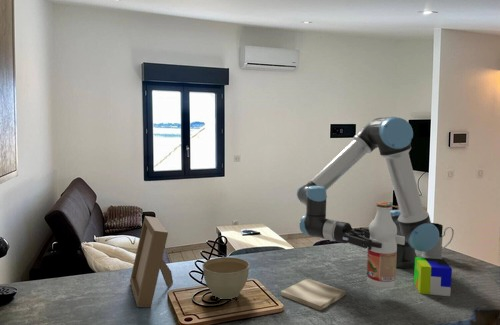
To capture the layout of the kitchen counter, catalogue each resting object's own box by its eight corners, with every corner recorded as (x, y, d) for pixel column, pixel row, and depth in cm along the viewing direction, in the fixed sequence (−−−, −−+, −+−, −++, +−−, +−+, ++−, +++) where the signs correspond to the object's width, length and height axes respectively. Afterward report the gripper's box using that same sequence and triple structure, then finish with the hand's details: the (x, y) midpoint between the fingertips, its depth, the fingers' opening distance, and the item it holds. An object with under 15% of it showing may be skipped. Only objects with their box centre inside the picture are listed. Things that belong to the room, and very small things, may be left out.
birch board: (307, 282, 145) (307, 278, 145) (345, 295, 134) (345, 290, 134) (280, 295, 133) (280, 291, 133) (320, 310, 122) (320, 306, 122)
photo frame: (137, 309, 121) (136, 232, 119) (129, 283, 141) (128, 217, 139) (183, 301, 127) (183, 228, 125) (170, 278, 147) (169, 214, 145)
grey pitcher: (417, 253, 180) (419, 222, 179) (445, 253, 182) (447, 222, 180) (428, 260, 171) (430, 227, 170) (457, 259, 173) (460, 226, 172)
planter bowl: (255, 289, 138) (255, 259, 137) (239, 308, 123) (239, 276, 122) (214, 282, 143) (214, 254, 142) (194, 300, 128) (194, 269, 127)
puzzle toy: (450, 296, 135) (451, 268, 134) (419, 293, 137) (421, 266, 136) (442, 285, 144) (443, 259, 143) (413, 282, 146) (415, 257, 145)
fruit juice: (393, 291, 126) (397, 207, 123) (364, 285, 130) (367, 204, 127) (396, 281, 134) (400, 202, 132) (369, 276, 138) (371, 199, 136)
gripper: (352, 235, 150) (410, 247, 135) (321, 248, 134) (383, 263, 119) (352, 216, 150) (411, 226, 135) (322, 227, 134) (384, 240, 119)
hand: (398, 244), depth 127 cm, fingers closed on fruit juice, 9 cm apart
